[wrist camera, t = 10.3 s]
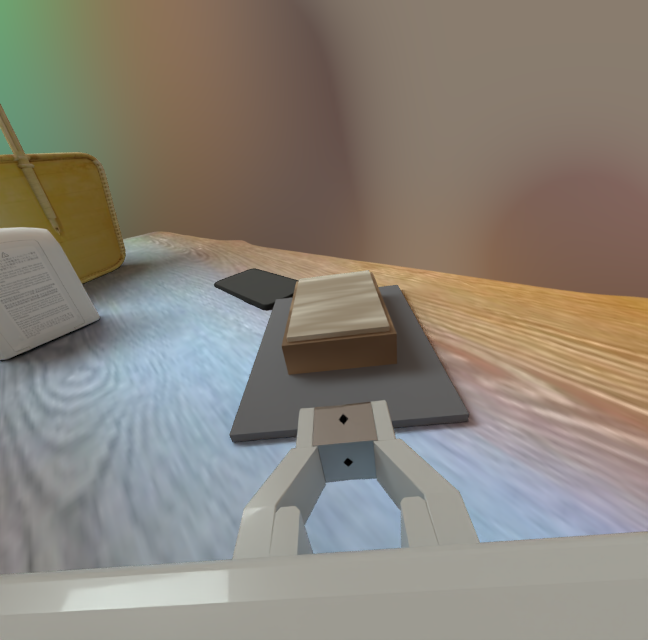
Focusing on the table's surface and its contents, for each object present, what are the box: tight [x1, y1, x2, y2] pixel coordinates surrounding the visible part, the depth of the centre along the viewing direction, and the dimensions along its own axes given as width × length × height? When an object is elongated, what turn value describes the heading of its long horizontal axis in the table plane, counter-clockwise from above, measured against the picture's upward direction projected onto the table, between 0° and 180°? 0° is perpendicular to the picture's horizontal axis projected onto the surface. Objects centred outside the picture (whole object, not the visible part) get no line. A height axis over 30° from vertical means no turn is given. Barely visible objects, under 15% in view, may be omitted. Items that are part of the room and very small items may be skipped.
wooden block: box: [282, 270, 397, 375], centre depth 26 cm, size 3×8×12 cm
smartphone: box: [214, 269, 298, 310], centre depth 40 cm, size 7×1×15 cm
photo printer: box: [0, 227, 100, 360], centre depth 32 cm, size 10×4×12 cm, turn 148°
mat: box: [230, 285, 469, 442], centre depth 26 cm, size 19×14×1 cm
